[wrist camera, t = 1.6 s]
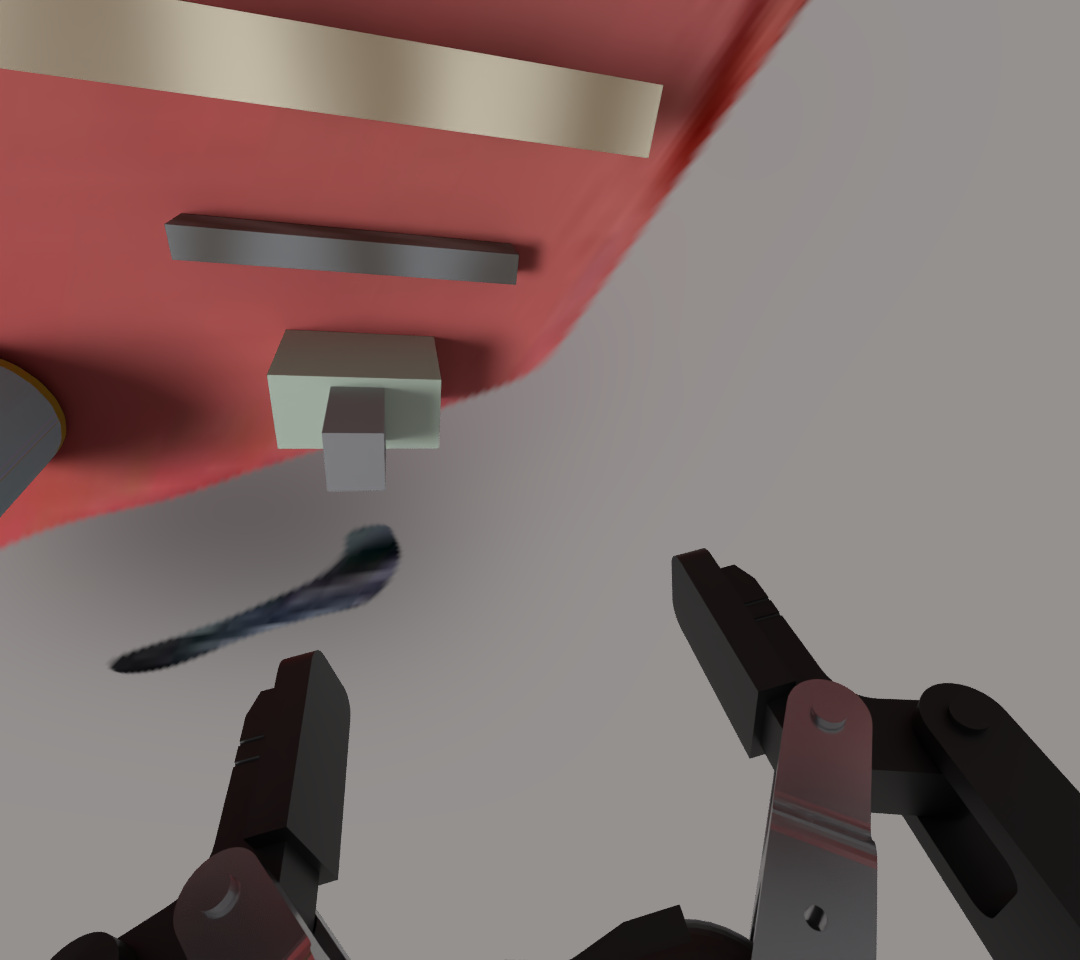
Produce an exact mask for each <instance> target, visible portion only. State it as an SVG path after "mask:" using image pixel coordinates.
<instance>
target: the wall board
mask: <svg viewBox="0 0 1080 960" xmlns="http://www.w3.org/2000/svg"><path fill="white" fill-rule="evenodd" d="M0 68H3V69H10V70H17V71H24V72H32V73H39V74H46V75H53V76H60V77H68V78H75V79H82V80H89V81H96V82H104V83H111V84H118V85H125V86H133V87H140V88H147V89H154V90H161V91H169V92H176V93H183V94H190V95H197V96H205V97H212V98H219V99H226V100H233V101H241V102H248V103H255V104H262V105H270V106H277V107H284V108H291V109H298V110H306V111H313V112H320V113H327V114H334V115H342V116H349V117H356V118H363V119H370V120H378V121H385V122H392V123H399V124H406V125H414V126H421V127H428V128H435V129H443V130H450V131H457V132H464V133H471V134H479V135H486V136H493V137H500V138H507V139H515V140H522V141H529V142H536V143H543V144H551V145H558V146H565V147H572V148H580V149H587V150H594V151H601V152H608V153H616V154H623V155H630V156H637V157H644V158H648V157H649V152H650V147H651V142H652V137H653V132H654V128H655V123H656V118H657V113H658V108H659V103H660V99H661V94H662V89H663V85H659V84H654V83H648V82H642V81H637V80H631V79H625V78H619V77H614V76H608V75H602V74H596V73H591V72H585V71H579V70H574V69H568V68H562V67H556V66H551V65H545V64H539V63H534V62H528V61H522V60H516V59H511V58H505V57H499V56H494V55H488V54H482V53H476V52H471V51H465V50H459V49H454V48H448V47H442V46H436V45H431V44H425V43H419V42H414V41H408V40H402V39H396V38H391V37H385V36H379V35H373V34H368V33H362V32H356V31H351V30H345V29H339V28H333V27H328V26H322V25H316V24H311V23H305V22H299V21H293V20H288V19H282V18H276V17H271V16H265V15H259V14H253V13H248V12H242V11H236V10H231V9H225V8H219V7H213V6H208V5H202V4H196V3H191V2H185V1H179V0H0ZM165 229H166V233H167V238H168V242H169V247H170V251H171V256H172V260H186V261H200V262H213V263H227V264H241V265H254V266H268V267H281V268H295V269H309V270H322V271H336V272H350V273H363V274H377V275H391V276H404V277H418V278H431V279H445V280H459V281H472V282H486V283H500V284H513V285H516V279H517V270H518V260H519V254H518V253H517V251H516V250H515V249H514V247H513V246H512V245H511V244H509V243H499V242H488V241H477V240H466V239H455V238H444V237H433V236H422V235H411V234H400V233H389V232H379V231H368V230H357V229H346V228H335V227H324V226H313V225H302V224H291V223H280V222H269V221H259V220H248V219H237V218H226V217H215V216H204V215H193V214H182V213H181V214H179V215H178V216H176V217H175V218H173V219H172V220H170V221H169V222H167V223H165Z"/></svg>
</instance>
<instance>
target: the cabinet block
mask: <svg viewBox="0 0 1080 960" xmlns="http://www.w3.org/2000/svg"><path fill="white" fill-rule="evenodd" d="M267 378H268V385H269V392H270V398H271V405H272V412H273V419H274V425H275V432H276V439H277V445H278V449H323V452H324V462H325V472H326V483H327V491H371V490H373V491H375V490H376V491H378V490H385V471H386V469H385V468H386V467H385V466H386V464H385V463H386V448H439V432H440V404H441V375H440V369H439V364H438V358H437V352H436V346H435V340H434V337H430V336H410V335H389V334H368V333H347V332H326V331H306V330H285V333H284V335H283V338H282V340H281V342H280V345H279V347H278V350H277V352H276V354H275V357H274V359H273V362H272V364H271V366H270V369H269V371H268V374H267Z"/></svg>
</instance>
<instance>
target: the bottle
mask: <svg viewBox="0 0 1080 960" xmlns="http://www.w3.org/2000/svg"><path fill="white" fill-rule="evenodd" d="M65 437H66V420H65V416H64V414H63V411H62V409H61V407H60V405H59V403H58V401H57V400H56V399H55V397H54V396H53V395H52V394H51V393H50V392H49V390H48V389H47V388H46V387H45V386H44V385H43V384H42V383H41V382H40V381H39V380H37V379H36V378H34V377H33V376H32V375H30V374H29V373H27V372H26V371H24V370H23V369H21V368H20V367H18V366H16V365H14V364H12V363H10V362H7V361H5V360H2V359H0V517H1V516H2V514H3V513H4V512H5V511H6V510H7V509H8V508H9V507H10V505H11V504H12V503H13V502H14V501H15V500H16V499H17V498H18V496H19V495H20V494H21V493H22V492H23V491H24V490H25V489H26V487H27V486H28V485H29V484H30V483H31V482H32V481H33V480H34V478H35V477H36V476H37V475H38V474H39V473H40V472H41V471H42V469H43V468H44V467H45V466H46V465H47V464H48V463H49V462H50V460H51V459H52V458H53V457H54V456H55V455H56V453H57V452H58V450H59V449H60V448H61V446H62V444H63V442H64V439H65Z"/></svg>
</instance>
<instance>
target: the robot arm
mask: <svg viewBox="0 0 1080 960" xmlns="http://www.w3.org/2000/svg"><path fill="white" fill-rule="evenodd" d="M672 590H673V591H672V592H673V593H672V595H673V606H674V611H675V614H676V617H677V620H678V623H679V625H680V627H681V629H682V631H683V633H684V634H685V637H686V639H687V640H688V642H689V644H690V646H691V648H692V650H693V652H694V654H695V656H696V657H697V659H698V661H699V663H700V665H701V667H702V669H703V671H704V673H705V675H706V676H707V678H708V680H709V682H710V684H711V686H712V688H713V690H714V692H715V693H716V695H717V697H718V699H719V701H720V703H721V705H722V707H723V709H724V711H725V712H726V714H727V716H728V718H729V720H730V722H731V724H732V726H733V728H734V730H735V731H736V733H737V735H738V737H739V739H740V741H741V743H742V745H743V746H744V749H745V750H746V752H747V754H748V756H749V758H753V757H756V756H760V755H763V754H766V756H767V758H768V760H769V762H770V763H771V765H772V767H773V769H774V776H773V784H772V790H771V797H770V804H769V811H768V818H767V824H766V831H765V838H764V845H763V852H762V859H761V866H760V872H759V879H758V884H757V892H756V897H755V903H754V910H753V917H752V924H751V931H750V937H749V939H747V938H746V937H744V936H742V935H740V934H739V933H736V932H734V931H732V930H730V929H728V928H726V927H723V926H720V925H717V924H714V923H711V922H705V921H700V920H690V919H684V916H683V913H682V910H681V907H680V905H677V906H673V907H670V908H667V909H664V910H661V911H657V912H654V913H651V914H648V915H645V916H642V917H639V918H635V919H632V920H629V921H626V922H623V923H622V924H620V925H619V926H618V927H616V928H615V929H613V930H612V931H611V932H609V933H608V934H606V935H605V936H604V937H602V938H601V939H599V940H598V941H597V942H595V943H594V944H592V945H591V946H590V947H588V948H587V949H585V950H584V951H583V952H581V953H580V954H578V955H577V956H576V957H574V958H573V959H571V960H876V934H877V933H876V932H877V851H876V846H875V842H874V841H873V840H872V838H871V829H870V828H871V827H870V826H871V823H870V822H871V812H872V813H885V814H886V813H887V814H898V815H902V816H903V817H904V819H905V820H906V822H907V824H908V825H909V827H910V828H911V830H912V831H913V833H914V835H915V836H916V838H917V839H918V841H919V843H920V844H921V846H922V847H923V849H924V850H925V852H926V853H927V855H928V857H929V858H930V860H931V862H932V863H933V865H934V866H935V868H936V869H937V871H938V873H939V874H940V876H941V877H942V879H943V881H944V882H945V884H946V885H947V887H948V888H949V890H950V891H951V893H952V895H953V896H954V898H955V900H956V901H957V902H958V904H959V906H960V907H961V909H962V910H963V912H964V914H965V915H966V917H967V918H968V920H969V921H970V923H971V925H972V926H973V928H974V930H975V931H976V933H977V934H978V936H979V937H980V939H981V940H982V942H983V944H984V945H985V947H986V949H987V950H988V952H989V953H990V955H991V956H992V958H993V960H1080V793H1079V791H1078V790H1077V789H1076V788H1075V787H1074V786H1073V785H1072V784H1071V783H1070V781H1069V780H1068V779H1067V778H1066V777H1065V776H1064V775H1063V774H1062V773H1061V772H1060V770H1059V769H1058V768H1057V767H1056V766H1055V765H1054V764H1053V763H1052V762H1051V761H1050V759H1049V758H1048V757H1047V756H1046V755H1045V754H1044V753H1043V752H1042V750H1041V749H1040V748H1039V747H1038V746H1037V745H1036V744H1035V743H1034V742H1033V740H1032V739H1030V737H1029V736H1028V735H1027V734H1026V733H1025V732H1024V731H1023V729H1022V728H1021V727H1020V726H1019V725H1018V724H1017V723H1016V722H1015V721H1014V719H1013V718H1012V717H1011V716H1010V715H1009V714H1008V713H1007V712H1006V711H1005V710H1004V709H1003V708H1002V707H1001V706H1000V705H999V704H998V703H997V702H996V701H994V700H993V699H992V698H990V697H988V696H987V695H986V694H984V693H982V692H980V691H978V690H976V689H973V688H971V687H968V686H963V685H960V684H953V683H943V684H937V685H934V686H931V687H930V688H928V689H927V690H926V691H924V693H923V694H922V696H921V698H920V700H899V699H898V700H897V699H876V698H868V697H863V696H860V695H857V694H855V693H854V692H853V691H851V690H850V689H848V688H846V687H845V686H843V685H841V684H839V683H836V682H833V681H832V680H831V679H830V678H829V677H828V676H826V674H825V673H824V672H823V671H822V670H821V668H820V667H819V666H818V664H817V663H816V661H815V660H814V659H813V657H812V656H811V655H810V653H809V652H808V650H807V649H806V648H805V646H804V645H803V644H802V642H801V641H800V640H799V638H798V637H797V636H796V634H795V633H794V632H793V630H792V629H791V627H790V626H789V625H788V623H787V622H786V620H785V619H784V618H783V617H782V616H780V614H779V611H778V610H777V608H776V607H775V605H774V604H773V603H772V601H771V600H770V601H769V599H768V596H767V595H766V593H765V592H764V590H763V589H762V588H761V586H760V585H759V584H758V582H757V581H756V580H755V578H753V577H752V576H750V575H749V574H747V573H746V572H744V571H743V570H741V569H740V568H738V567H737V566H735V565H731V566H727V567H724V568H720V567H719V566H718V564H717V563H716V561H715V560H714V558H713V557H712V555H711V554H710V552H709V551H708V550H706V549H705V548H703V549H699V550H695V551H692V552H688V553H684V554H680V555H677V556H673V558H672ZM349 728H350V705H349V700H348V696H347V693H346V691H345V689H344V687H343V685H342V684H341V682H340V681H339V679H338V677H337V676H336V674H335V672H334V671H333V669H332V668H331V666H330V664H329V663H328V661H327V659H326V658H325V656H324V655H323V653H322V652H321V651H319V650H317V651H313V652H309V653H305V654H302V655H298V656H294V657H290V658H287V659H284V660H282V661H281V663H280V665H279V668H278V672H277V677H276V682H275V687H274V688H272V689H269V690H265V691H261V692H260V694H259V696H258V697H257V699H256V701H255V702H254V704H253V705H252V707H251V709H250V710H249V712H248V713H247V715H246V717H245V721H244V726H243V730H242V734H241V738H240V746H238V750H237V755H236V758H235V767H233V771H232V775H231V779H230V784H229V787H228V791H227V795H226V799H225V803H224V807H223V811H222V816H221V820H220V824H219V828H218V832H217V836H216V840H215V844H214V847H213V851H212V853H211V855H210V858H209V859H208V860H207V861H205V862H204V863H203V864H202V865H201V866H200V867H199V868H198V869H197V870H196V871H195V872H194V873H193V874H192V876H191V877H190V878H189V879H188V881H187V883H186V884H185V886H184V887H183V889H182V891H181V893H180V895H179V898H178V899H177V900H176V901H174V902H173V903H172V904H170V905H169V906H167V907H166V908H164V909H163V910H161V911H160V912H158V913H157V914H155V915H153V916H152V917H150V918H149V919H147V920H146V921H144V922H142V923H141V924H139V925H138V926H136V927H135V928H133V929H132V930H130V931H128V932H127V933H125V934H124V935H122V936H120V937H119V938H115V937H113V936H111V935H109V934H107V933H104V932H93V933H89V934H86V935H84V936H82V937H79V938H77V939H76V940H74V941H73V942H71V943H69V944H68V945H66V946H65V947H64V948H62V949H61V950H60V951H59V952H58V953H57V954H56V955H55V956H53V957H52V959H51V960H350V958H349V956H348V955H347V954H346V952H345V951H344V950H343V948H342V946H341V945H340V944H339V942H338V940H337V939H336V937H335V936H334V934H333V933H332V932H331V930H330V929H329V927H328V926H327V924H326V923H325V921H324V920H323V918H322V917H321V915H320V914H319V912H318V911H317V910H316V901H317V891H318V885H322V884H325V883H328V882H331V881H334V880H338V870H339V858H340V844H341V832H342V819H343V805H344V793H345V780H346V767H347V754H348V739H349Z"/></svg>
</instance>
